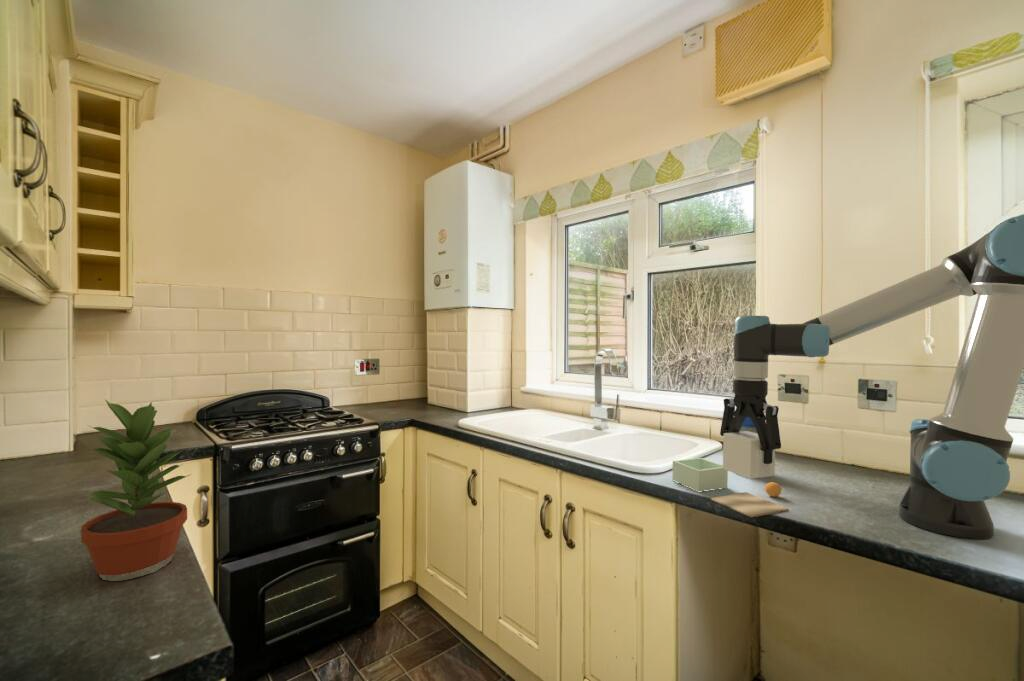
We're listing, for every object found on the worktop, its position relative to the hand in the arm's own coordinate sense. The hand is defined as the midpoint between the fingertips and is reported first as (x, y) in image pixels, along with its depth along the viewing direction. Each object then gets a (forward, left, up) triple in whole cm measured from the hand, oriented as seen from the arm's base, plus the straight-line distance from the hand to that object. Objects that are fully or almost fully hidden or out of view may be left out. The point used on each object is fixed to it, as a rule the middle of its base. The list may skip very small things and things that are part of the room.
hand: (748, 471), depth 111 cm
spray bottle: (+19, -22, -9) cm, 30 cm away
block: (0, 0, 0) cm, 0 cm away
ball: (+2, -11, -8) cm, 14 cm away
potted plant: (+18, +127, -9) cm, 128 cm away
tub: (+16, 0, -9) cm, 18 cm away
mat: (0, 0, -8) cm, 8 cm away
